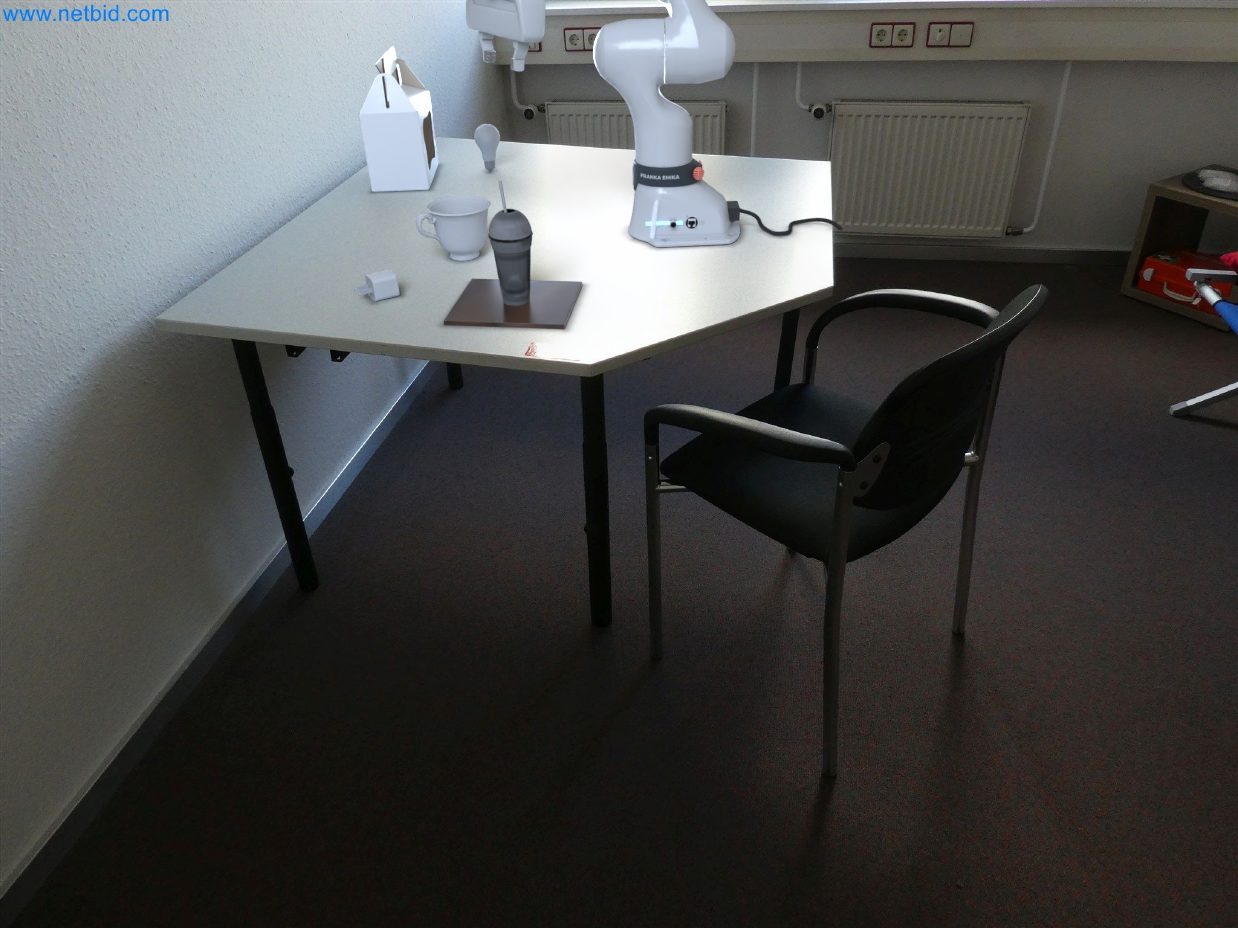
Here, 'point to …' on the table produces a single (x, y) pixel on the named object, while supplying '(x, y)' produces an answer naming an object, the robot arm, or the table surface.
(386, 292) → the usb wall charger
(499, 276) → the beverage cup
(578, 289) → the mat
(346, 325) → the table surface
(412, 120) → the gable box
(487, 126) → the lightbulb
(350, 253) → the table surface
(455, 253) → the teacup
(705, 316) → the table surface
